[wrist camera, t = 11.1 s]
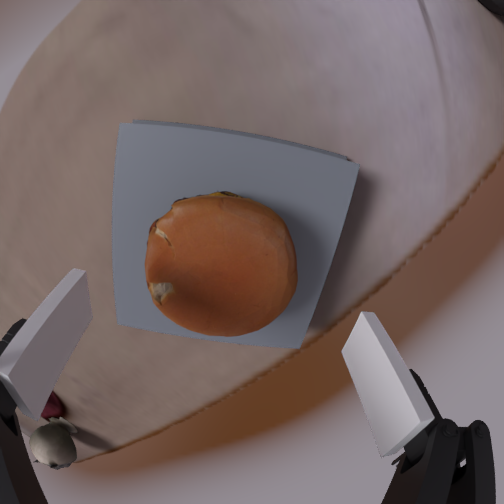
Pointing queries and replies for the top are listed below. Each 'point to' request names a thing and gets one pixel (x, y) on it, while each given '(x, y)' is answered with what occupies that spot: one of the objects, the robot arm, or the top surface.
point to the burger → (220, 264)
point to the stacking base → (235, 181)
